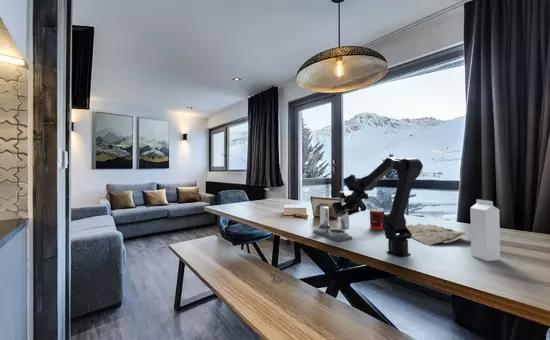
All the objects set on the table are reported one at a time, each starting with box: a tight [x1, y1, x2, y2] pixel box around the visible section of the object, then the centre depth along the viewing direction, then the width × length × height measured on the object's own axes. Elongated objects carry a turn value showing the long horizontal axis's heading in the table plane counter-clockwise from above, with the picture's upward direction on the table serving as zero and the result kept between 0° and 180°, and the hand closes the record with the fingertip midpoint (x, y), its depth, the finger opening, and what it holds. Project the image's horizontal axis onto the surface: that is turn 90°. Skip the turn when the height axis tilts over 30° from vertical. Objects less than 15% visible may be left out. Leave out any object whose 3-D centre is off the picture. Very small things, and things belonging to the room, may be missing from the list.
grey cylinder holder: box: [312, 205, 353, 243], centre depth 124 cm, size 20×9×14 cm, turn 27°
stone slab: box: [406, 223, 471, 247], centre depth 119 cm, size 33×27×5 cm
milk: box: [469, 198, 501, 262], centre depth 90 cm, size 6×6×22 cm
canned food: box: [369, 208, 386, 232], centre depth 134 cm, size 8×8×11 cm
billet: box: [339, 203, 350, 231], centre depth 128 cm, size 5×5×13 cm
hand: (342, 215), depth 129 cm, fingers closed on billet, 5 cm apart
